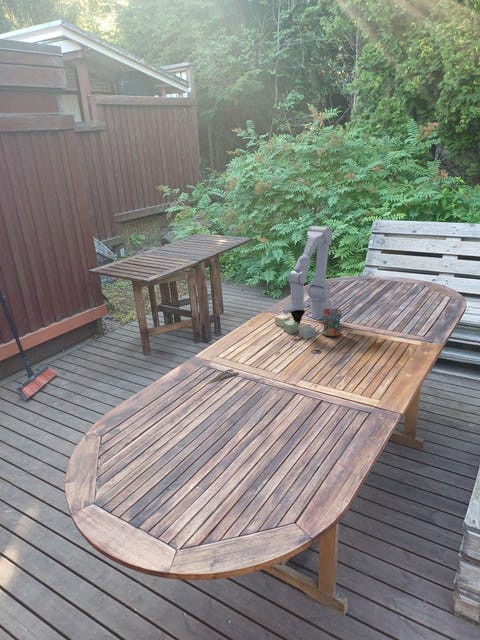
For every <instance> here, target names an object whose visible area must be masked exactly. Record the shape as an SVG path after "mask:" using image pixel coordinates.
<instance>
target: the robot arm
mask: <svg viewBox="0 0 480 640" xmlns="http://www.w3.org/2000/svg"><path fill="white" fill-rule="evenodd" d="M306 235H307V241H306V245H305V248H304V251H303V253H302V255H300V256H299V257H298V258H297V261H296V264H295V266H294V268H293V270H291V271H290V272H289V274H288V277H287V280H288V283H289V287H290V305H289V306H288V307H285V308H283V313H282V314H284V315H288V314H289V313H290V315H291V316H292V318H293V319H292V320H293V321H296V322H298V323H299V326H300V325H301V322H302V318H303V316H304V315H305V312H306V310H305V309H307V308H310V311H311V312H310V313H309V314H307V317H310V318H312V319H314V320H317V321H319V320H324V318H323V315H322V313H321V311H322V310H324V309H328V308H332V301H331V298H330V296H331V285H330V283H329V282H328V281H327V280H326V274H327V265H328V259H329V258H328V257H329V250H330V249H329V247H330V246H331V245H332V240H333V230H332V228H331V227H330V226H319V225H318V226H317V225H310V226H309V228H308V229H307V233H306ZM316 248H317V251H316V260H315V271H314V279H312V280H311V281H310V282H309V284H308V288H307V296H308V297H309V300H310V302H308V301H307V302H305V300H304V299H305V298H304V297H305V296H304V294H305V291H304V289H305V286H304V284H305V283H306V281H307V278H308V277H307V276H308V270H309V267H310V265H311V263H312V261H311V257H312V255H313V253H314V252H315V250H316Z"/></svg>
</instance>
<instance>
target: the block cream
mask: <svg viewBox="0 0 480 640" xmlns="http://www.w3.org/2000/svg"><path fill="white" fill-rule="evenodd" d="M289 320H291V317H290V316H289V315H288V314H285V313H282V314H279V315H275V316H274V324H275V325H277V326H279V327H281V328H283V322H286V321H289Z"/></svg>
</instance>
